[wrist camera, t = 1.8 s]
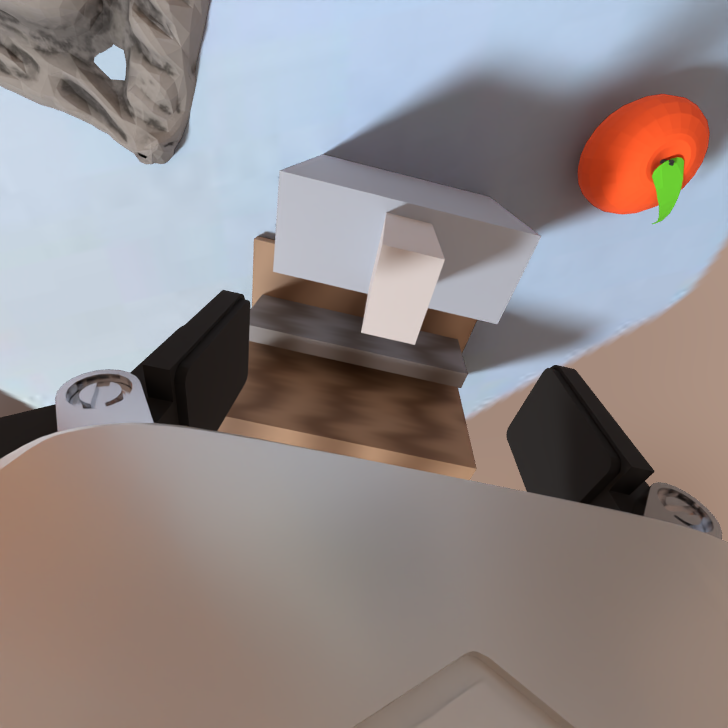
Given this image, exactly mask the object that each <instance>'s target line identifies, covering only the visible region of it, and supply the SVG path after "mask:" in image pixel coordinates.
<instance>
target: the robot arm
mask: <svg viewBox="0 0 728 728" xmlns="http://www.w3.org/2000/svg"><path fill="white" fill-rule="evenodd" d="M249 329H250V302H249V301H248V300H245V298H244V295H243V294H239V293H234V292H230V291H225V290H223V291H221V292H220V293H219V294H218V295H217V296H216V297H215V298H214V299H212V300H211V301H210V302H209V303H208V304H207V305H206V306H205V307H204V308H203V309H202V310H201V311H199V312H198V313H197V314H196V315H195V316H194V317H193V318H192V319H191V320H190V321H189V322H188V323H186V324H185V325H184V326H182V327H180V328H179V329H178V330H177V331H175V332H174V333H173V334H172V335H171V336H170V337H169V338H168V339H167V340H166V341H165V342H163V343H162V344H161V345H160V346H159V347H158V348H157V349H156V350H155V351H154V352H152V353H151V354H150V355H149V356H148V357H147V358H146V359H145V360H144V361H143V362H142V363H140V364H139V365H138V366H137V367H136V368H135V369H134V370H133V371H132V372H131V373H129V372H125V371H122V370H111V369H107V370H96V371H92V372H88V373H84V374H81V375H79V376H76V377H74V378H72V379H70V380H69V381H67V382H66V383H64V384H63V385H62V386H61V387H60V389H59V390H58V391H57V393H56V397H55V403H56V404H55V405H51V406H47V407H43V408H38V409H34V410H31V411H26V412H22V413H18V414H14V415H10V416H5V417H2V418H0V728H728V542H726V541H724V540H722V531H721V527H720V524H719V523H718V521H717V520H716V518H715V517H714V516H713V514H712V513H711V512H710V511H709V510H708V509H707V508H706V507H705V506H704V505H703V504H701V503H700V502H699V501H698V500H697V499H695V498H694V497H692V496H691V495H690V494H688V493H686V492H685V491H683V490H681V489H679V488H677V487H675V486H672V485H669V484H667V483H661V482H658V483H653V484H652V485H651V486H650V487H649V486H648V484H647V483H646V482H645V480H646V479H647V478H648V477H649V476H650V475H652V473H654V470H653V469H652V467H651V466H650V465H649V464H648V462H647V461H646V460H645V459H644V457H643V456H642V455H641V453H640V452H639V451H638V449H637V448H636V447H635V446H634V445H633V443H632V442H631V440H630V439H629V438H628V437H627V435H626V434H625V433H624V432H623V430H622V429H621V428H620V426H619V425H618V424H617V422H616V421H615V420H614V419H613V417H612V416H611V415H610V413H609V412H608V411H607V410H606V408H605V407H604V406H603V404H602V403H601V402H600V401H599V399H598V398H597V397H596V396H595V394H594V393H593V392H592V390H591V389H590V388H589V386H588V385H587V384H586V383H585V381H584V380H583V379H582V378H581V376H580V375H579V374H578V372H577V371H576V370H575V369H571V368H567V367H562V366H558V365H554V366H552V367H551V368H547V369H545V370H544V372H543V373H542V375H541V376H540V378H539V379H538V381H537V383H536V384H535V386H534V387H533V389H532V391H531V392H530V394H529V395H528V397H527V399H526V400H525V402H524V403H523V405H522V407H521V408H520V410H519V412H518V413H517V415H516V416H515V418H514V419H513V421H512V423H511V424H510V426H509V428H508V430H507V440H508V443H509V445H510V448H511V450H512V453H513V456H514V458H515V461H516V464H517V466H518V469H519V472H520V475H521V477H522V480H523V482H524V485H525V487H526V490H527V492H525V491H520V490H515V489H510V488H505V487H500V486H495V485H490V484H485V483H480V482H475V481H470V480H465V479H460V478H455V477H450V476H445V475H440V474H435V473H430V472H425V471H420V470H415V469H410V468H405V467H400V466H395V465H390V464H385V463H380V462H375V461H370V460H365V459H360V458H355V457H350V456H345V455H340V454H335V453H330V452H325V451H320V450H315V449H309V448H304V447H299V446H294V445H289V444H284V443H279V442H273V441H268V440H263V439H258V438H253V437H248V436H243V435H237V434H231V433H225V432H219V431H218V429H219V427H220V426H221V424H222V422H223V421H224V419H225V417H226V415H227V414H228V412H229V410H230V409H231V407H232V405H233V404H234V402H235V400H236V398H237V397H238V395H239V393H240V392H241V390H242V388H243V386H244V385H245V383H246V380H247V376H248V360H249Z"/></svg>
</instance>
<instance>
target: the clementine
mask: <svg viewBox="0 0 728 728" xmlns="http://www.w3.org/2000/svg"><path fill="white" fill-rule="evenodd" d="M709 134H710V133H709V127H708V122H707V119H706V118H705V116H704V115H703V113H702V112H701V110H700V109H699V107H698V106H697V105H696V104H694V103H693V102H691V101H690V100H688V99H687V98H684V97H678V96H673V95H667V94H659V95H652V96H646V97H644V98H641V99H638V100H636V101H633V102H631V103H629V104H626V105H624V106H622V107H621V108H619V109H618V110H616V111H615V112H613V113H612V114H610V115H609V116H608V117H607V118H606V119H605V120H604V121H603V122H602V123H601V124H600V125H599V126H598V127H597V128H596V129H595V131H594V132H593V134H592V135H591V137H590V138H589V140H588V141H587V142H586V144H585V147H584V149H583V151H582V154H581V156H580V161H579V166H578V184H579V186H580V189H581V192H582V194H583V195H584V196H585V198H586V199H587V200H588V201H589V202H590V203H591V204H592V205H593V206H595V207H597V208H598V209H600V210H602V211H604V212H610V213H616V214H631V213H638V212H641V211H644V210H647V209H650V208H652V207H655V206H658V205H659V218H658V221H657V222H655V223H658V222H660V221H662V220H663V219H664V218H665V217H666V216H667V215H669V214H670V212H671V210H672V209H673V207H674V205H675V203H676V201H677V199H678V196H679V193H680V190H681V189H683V188H684V187H685V185H686V184H687V183H688V182H689V181H690V180H691V179H692V177H693V176H694V175H695V173H696V172H697V170H698V168H699V167H700V165H701V164H702V162H703V159H704V157H705V154H706V151H707V148H708V143H709ZM655 223H653V224H655Z"/></svg>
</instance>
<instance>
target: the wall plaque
mask: <svg viewBox="0 0 728 728" xmlns="http://www.w3.org/2000/svg"><path fill="white" fill-rule="evenodd" d="M209 1H210V0H0V86H2V87H4V88H5V89H8V90H10V91H13V92H15V93H17V94H19V95H21V96H23V97H25V98H28V99H30V100H32V101H34V102H36V103H38V104H41V105H44V106H47V107H51V108H54V109H57V110H60V111H63V112H65V113H67V114H69V115H72V116H74V117H77V118H79V119H81V120H83V121H85V122H87V123H89V124H92V125H93V126H95V127H96V128H98V129H99V130H101V131H103V132H105V133H107V134H109V135H110V136H111V137H112V138H113V139H114V140H115V141H116V142H118V143H119V144H120V145H122V146H123V147H125V148H126V149H128V150H129V151H131V152H133V153H134V154H135V155H136V157H137V158H138V159H139V161H140V162H142V163H144V164H153V163H158V164H164V163H166V162H167V161H169V159H170V158H171V157H172V156H173V155H174V149H175V148H176V146H177V144H178V143H179V142H180V140H181V138H182V136H183V133H184V130H185V127H186V125H187V122H188V118H189V114H190V110H191V105H192V101H193V96H194V91H195V85H196V76H195V70H196V62H197V58H198V54H199V49H200V45H201V41H202V37H203V32H204V27H205V22H206V17H207V12H208V7H209ZM113 44H114V45H116V46H117V47H119V48H121V49H123V50H124V53H125V58H126V77H125V81H124V80H111V79H110V78H109V77H108V76H107V75H106V74H105V73H104V72H103V71H102V70H101V69H100V68H99V67H98V66H97V65H96V64H95V63H94V57H95V56H96V55H98V54H99V53H102V52H103V51H105V50H107V49H108V48H110V47H112V45H113Z"/></svg>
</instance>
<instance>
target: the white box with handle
mask: <svg viewBox="0 0 728 728" xmlns="http://www.w3.org/2000/svg"><path fill="white" fill-rule="evenodd" d="M540 238H541V236H540V235H539V234H538V233H536V232H535V231H534V230H532V229H531V228H530V227H528V226H527V225H526V224H525V223H523V222H522V221H521V220H519V219H518V218H517V217H515V216H514V215H513V214H511V213H510V212H509V211H508V210H506V209H505V208H504V207H502V206H501V205H500V204H498V203H497V202H496V201H494V200H493V199H492V198H491V197H489V196H485V195H481V194H477V193H473V192H469V191H465V190H461V189H457V188H453V187H449V186H446V185H442V184H438V183H434V182H430V181H426V180H422V179H418V178H414V177H410V176H406V175H402V174H399V173H395V172H391V171H387V170H383V169H379V168H375V167H371V166H367V165H363V164H359V163H356V162H352V161H348V160H344V159H340V158H336V157H332V156H328V155H324V154H322V155H320V156H317V157H314V158H312V159H309V160H306V161H304V162H301V163H298V164H296V165H293V166H291V167H288V168H285V169H283V170H280V172H279V187H278V203H277V219H276V234H275V250H274V265H273V272H277V273H281V274H285V275H289V276H294V277H298V278H302V279H306V280H311V281H315V282H319V283H323V284H328V285H332V286H336V287H341V288H345V289H349V290H353V291H358V292H362V293H366V294H368V296H367V302H366V307H365V313H364V319H363V325H362V330H361V333H365V334H369V335H374V336H378V337H383V338H387V339H391V340H396V341H400V342H404V343H409V344H413V345H415V343H416V340H417V337H418V334H419V331H420V329H421V326H422V323H423V320H424V317H425V314H426V312H427V309H428V308H430V309H434V310H439V311H443V312H447V313H451V314H456V315H460V316H464V317H468V318H473V319H477V320H481V321H485V322H490V323H494V324H498V322H499V320H500V318H501V316H502V314H503V312H504V310H505V308H506V306H507V304H508V302H509V300H510V298H511V296H512V294H513V292H514V290H515V288H516V286H517V284H518V282H519V280H520V278H521V276H522V274H523V272H524V270H525V268H526V266H527V264H528V262H529V260H530V258H531V256H532V254H533V252H534V250H535V248H536V246H537V244H538V242H539V240H540Z"/></svg>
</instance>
